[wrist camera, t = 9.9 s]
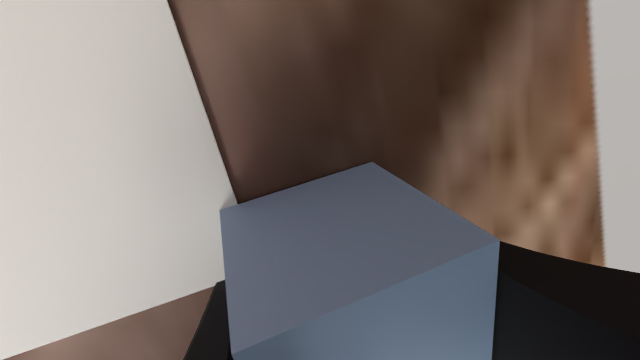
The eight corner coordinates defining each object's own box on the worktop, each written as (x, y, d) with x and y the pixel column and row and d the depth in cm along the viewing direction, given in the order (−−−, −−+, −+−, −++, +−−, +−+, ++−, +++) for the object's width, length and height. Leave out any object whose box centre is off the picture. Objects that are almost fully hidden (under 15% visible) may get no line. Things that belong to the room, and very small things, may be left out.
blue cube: (386, 277, 12) (488, 400, 8) (263, 329, 11) (301, 507, 7) (371, 161, 10) (500, 239, 6) (219, 210, 9) (230, 354, 5)
